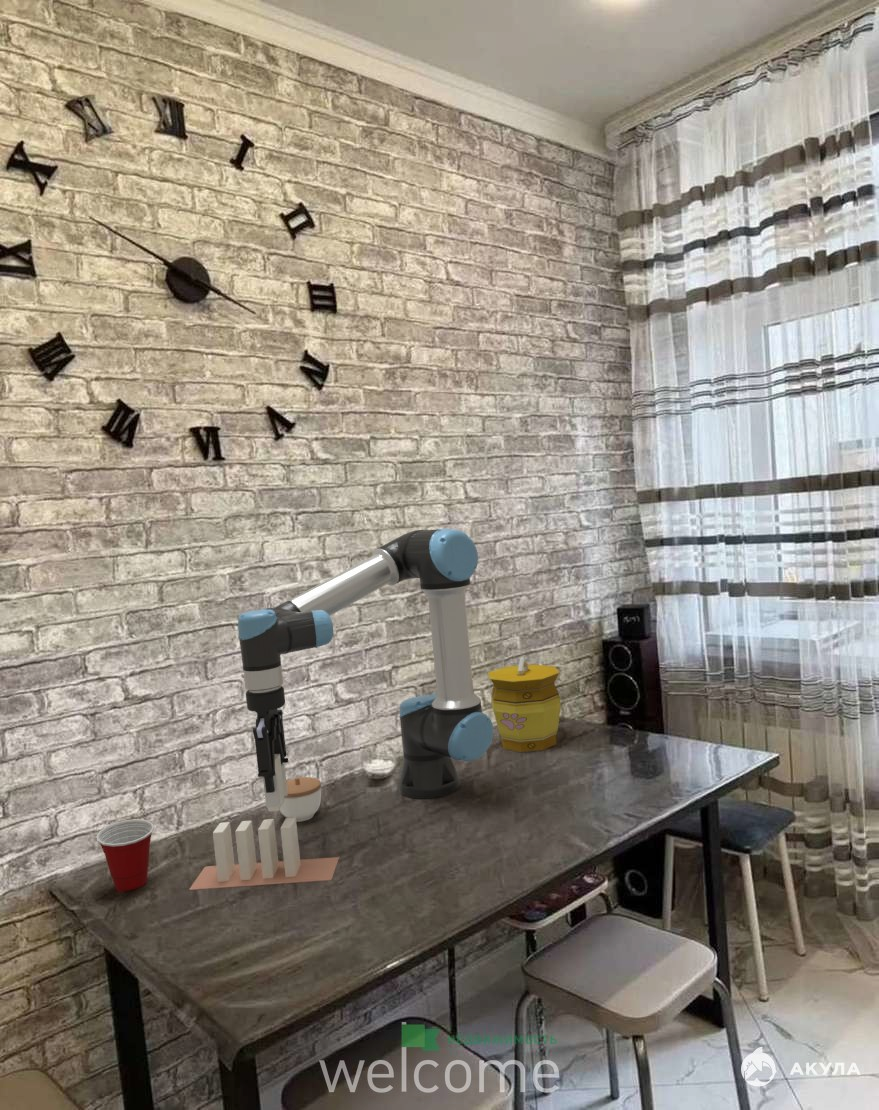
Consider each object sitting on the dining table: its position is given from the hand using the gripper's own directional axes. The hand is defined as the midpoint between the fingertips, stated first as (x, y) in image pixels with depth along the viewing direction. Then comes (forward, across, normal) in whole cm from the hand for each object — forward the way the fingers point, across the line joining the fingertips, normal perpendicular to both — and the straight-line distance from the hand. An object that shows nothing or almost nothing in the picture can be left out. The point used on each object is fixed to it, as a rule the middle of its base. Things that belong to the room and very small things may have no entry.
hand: (277, 800), depth 167 cm
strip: (+14, +3, -3) cm, 15 cm away
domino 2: (+14, +3, -7) cm, 15 cm away
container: (+15, -72, +52) cm, 91 cm away
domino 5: (+14, +2, +2) cm, 14 cm away
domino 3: (+1, 0, 0) cm, 1 cm away
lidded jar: (+15, -28, -3) cm, 31 cm away
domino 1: (+14, +3, -11) cm, 18 cm away
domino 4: (+14, +2, -2) cm, 14 cm away
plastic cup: (+14, +4, -30) cm, 34 cm away
